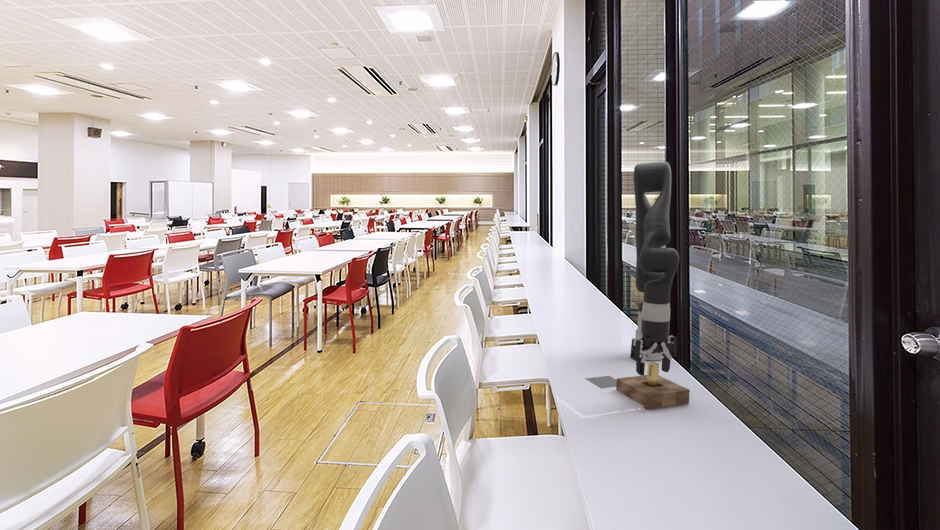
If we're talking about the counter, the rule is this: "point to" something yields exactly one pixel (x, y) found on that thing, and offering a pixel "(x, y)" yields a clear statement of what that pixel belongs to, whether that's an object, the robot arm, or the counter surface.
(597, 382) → the rubber mat
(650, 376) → the brass pin
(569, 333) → the counter surface
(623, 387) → the walnut block
